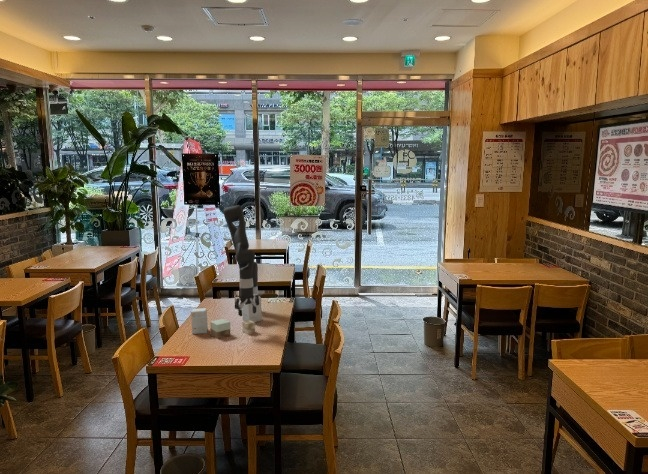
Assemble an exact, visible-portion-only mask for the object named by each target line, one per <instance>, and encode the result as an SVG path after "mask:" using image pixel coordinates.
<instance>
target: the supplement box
mask: <svg viewBox="0 0 648 474" xmlns="http://www.w3.org/2000/svg"><path fill="white" fill-rule="evenodd" d="M253 301H254V302H255V298H254V299H253ZM242 304H243V303H242ZM252 306H253V305H252V304H251V303H250V304H247V305H244V307H243V308H242V309H241V310H242V322H245V321H249V320H251V321H253V322H255V323H257V322H262V321H263V319H262V318H263V315H262V311H263V310H262V297H261V296H260V295H259V305H257V306H256V313H253V309H252Z"/></svg>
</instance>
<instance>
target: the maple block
mask: <svg viewBox="0 0 648 474" xmlns="http://www.w3.org/2000/svg"><path fill="white" fill-rule="evenodd" d="M242 333H243V334H245V335H247V336H248V335H251V334H255V333H256V322H253V321H251V320H249V321H242Z"/></svg>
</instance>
